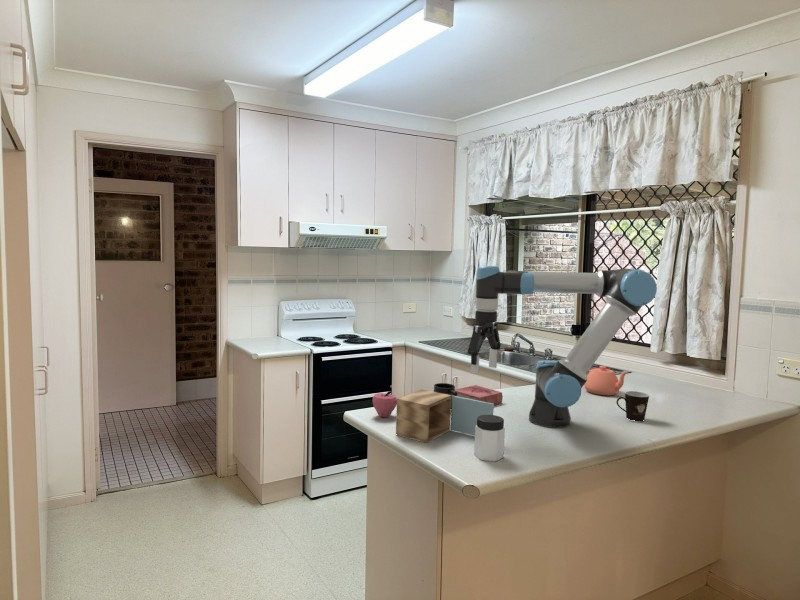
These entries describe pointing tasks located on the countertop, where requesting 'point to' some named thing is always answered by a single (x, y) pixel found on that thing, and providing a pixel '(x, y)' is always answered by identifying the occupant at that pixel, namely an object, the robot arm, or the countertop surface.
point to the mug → (445, 389)
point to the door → (467, 413)
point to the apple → (384, 403)
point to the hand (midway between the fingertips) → (483, 370)
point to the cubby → (423, 415)
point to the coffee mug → (635, 405)
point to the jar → (489, 438)
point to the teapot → (603, 381)
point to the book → (480, 394)
